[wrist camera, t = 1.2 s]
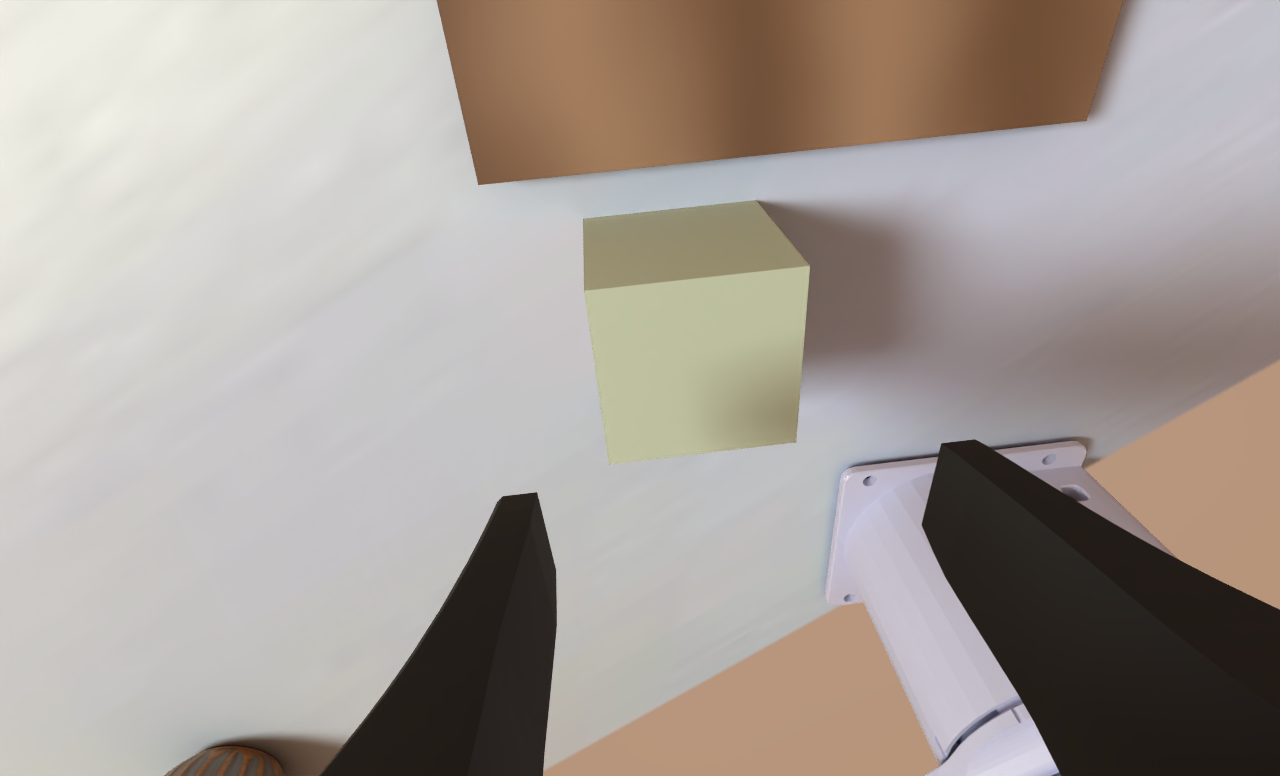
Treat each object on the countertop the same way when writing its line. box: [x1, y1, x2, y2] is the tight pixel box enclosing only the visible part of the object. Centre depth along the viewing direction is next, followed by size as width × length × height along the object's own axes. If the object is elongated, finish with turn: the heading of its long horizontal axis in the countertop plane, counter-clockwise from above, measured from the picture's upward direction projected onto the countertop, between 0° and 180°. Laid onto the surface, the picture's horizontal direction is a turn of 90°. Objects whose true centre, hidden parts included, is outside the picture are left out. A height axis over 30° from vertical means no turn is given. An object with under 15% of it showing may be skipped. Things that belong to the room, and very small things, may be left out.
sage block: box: [583, 200, 810, 464], centre depth 17 cm, size 5×5×5 cm
